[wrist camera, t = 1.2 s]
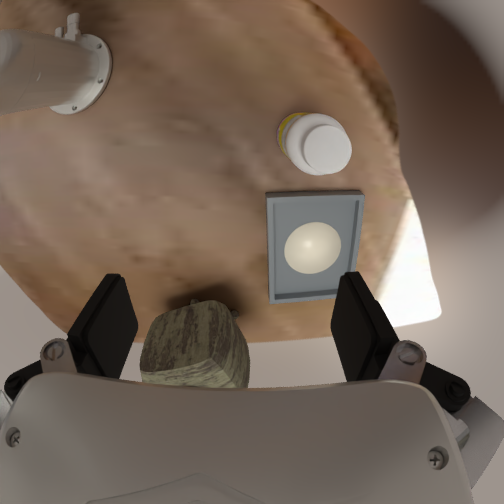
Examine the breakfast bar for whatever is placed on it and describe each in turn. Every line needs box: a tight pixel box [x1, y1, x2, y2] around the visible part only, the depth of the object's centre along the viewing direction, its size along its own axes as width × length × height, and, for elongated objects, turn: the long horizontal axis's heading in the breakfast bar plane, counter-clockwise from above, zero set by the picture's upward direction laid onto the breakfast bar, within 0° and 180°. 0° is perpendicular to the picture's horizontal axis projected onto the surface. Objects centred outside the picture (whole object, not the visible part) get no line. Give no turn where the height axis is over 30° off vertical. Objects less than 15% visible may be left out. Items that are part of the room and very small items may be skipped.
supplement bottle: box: [277, 112, 352, 175], centre depth 29 cm, size 7×7×13 cm
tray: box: [265, 190, 365, 304], centre depth 42 cm, size 18×14×2 cm
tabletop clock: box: [140, 299, 250, 388], centre depth 37 cm, size 14×9×25 cm, turn 110°
